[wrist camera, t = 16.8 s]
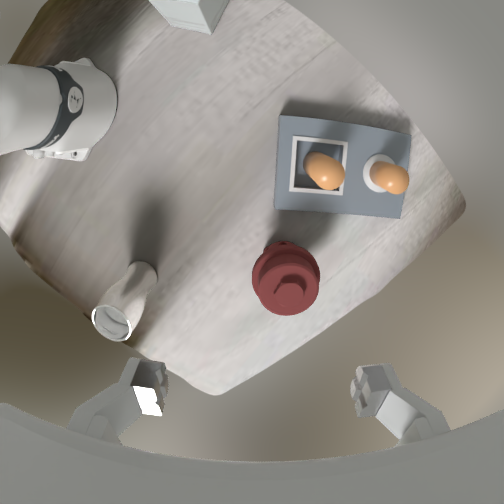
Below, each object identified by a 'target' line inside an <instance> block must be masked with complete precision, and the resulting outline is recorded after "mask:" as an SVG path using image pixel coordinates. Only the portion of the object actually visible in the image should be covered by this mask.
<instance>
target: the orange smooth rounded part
mask: <svg viewBox="0 0 504 504" xmlns="http://www.w3.org/2000/svg"><path fill="white" fill-rule="evenodd" d="M303 168H304V171H305V172H306V173H307V174H308V175H309V176H310V177H311V178H312V179H313V180H314V181H315V182H316V183H317V184H318V185H319V186H320V187H321V188H323V189H325V190H334V189H336V188H338V187H339V186H340V185H341V184H342V183H343V181H344V179H345V170H344V167H343V165H342V164H341V163H340V162H339V161H337V160H335V159H333V158H331V157H329V156H327V155H325V154H323V153H321V152H317V151H314V152H310V153H308V154H307V155H306V156H305V158H304V160H303Z"/></svg>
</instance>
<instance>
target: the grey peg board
mask: <svg viewBox="0 0 504 504" xmlns="http://www.w3.org/2000/svg"><path fill="white" fill-rule="evenodd" d="M410 145H411V135H408V134H404V133H400V132H395V131H390V130H385V129H380V128H375V127H370V126H364V125H358V124H352V123H346V122H339V121H332V120H324V119H316V118H306V117H296V116H284V115H280V116H279V121H278V140H277V157H276V174H275V190H274V208H275V209H278V210H296V211H312V212H327V213H340V214H353V215H365V216H376V217H387V218H397V219H400V216H401V211H402V205H403V199H404V193H405V190H406V189H407V187H408V185H409V175H408V173H407V172H408V164H409V155H410ZM314 151H317V152H321V153H323V154H325V155H327V156H329V157H331V158H333V159H335V160H337V161H339V162H340V163H341V164H342V165H343V167H344V170H345V179H344V181H343V183H342V184H341V185H340V186H339V187H338V188H336V189H334V190H325V189H323V188H321V187H320V186H319V185H318V184H317V183H316V182H315V181H314V180H313V179H312V178H311V177H310V176H309V175H308V174H307V173H306V172H305V171H304V168H303V160H304V158H305V156H306V155H307V154H308V153H310V152H314Z"/></svg>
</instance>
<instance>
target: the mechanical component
mask: <svg viewBox="0 0 504 504" xmlns="http://www.w3.org/2000/svg"><path fill="white" fill-rule="evenodd" d="M319 282H320V271H319V267H318V265H317V262H316V260H315V259H314V257H313V256H312V255H311V254H310V253H309V252H308V251H307V250H305V249H304V248H302V247H299V246H297V245H295V244H293V243H291V242H287V241H279V242H275V243H273V244H271V245H270V246H268V247H266V248H265V249H264V251H263V254H262V255H261V256H260V257H259V258H258V259H257V261H256V262H255V265H254V267H253V271H252V285H253V288H254V291H255V293H256V294H257V296H258V297H259V299H260V301H261V303H262V304H263V306H264V307H265V308H266V309H268V310H269V311H271V312H272V313H275V314H278V315H285V316H288V315H295V314H298V313H301V312H303V311H305V310H306V309H308V308H309V307H310V306H311V305H312V304H313V303H314V301H315V300H316V297H317V295H318V291H319Z"/></svg>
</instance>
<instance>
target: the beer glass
mask: <svg viewBox="0 0 504 504" xmlns="http://www.w3.org/2000/svg"><path fill="white" fill-rule="evenodd" d="M156 283H157V274H156V272H155V270H154V268H153V267H152V266H151V265H149V264H148V263H146V262H143V261H136V262H134V263H132V264H131V265H130V266H129V267H128V269H127V271H126V274H125V276H124V277H122V278H121V279H120V280H118V281H117V282H116V283H114V284H113V285H112V286H111V287H110V288H108V290H107V291H106V292H105V293H104V294H103V296H102V297H101V298H100V300H99V302H98V303H97V305H96V307H95V308H94V310H93V312H92V322H93V324H94V326H95V328H96V329H97V330H98V332H100V334H102V335H103V336H105V337H106V338H108V339H110V340H113V341H124V340H126V339H127V338H129V336H130V335H131V333H132V331H133V330H134V328H135V327H136V325H137V324H138V322H139V320H140V318H141V316H142V314H143V311H144V308H145V304H146V300H147V296H148V293H149V292H150V291H151V290H152V289H153V288H154V287H155V285H156Z"/></svg>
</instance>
